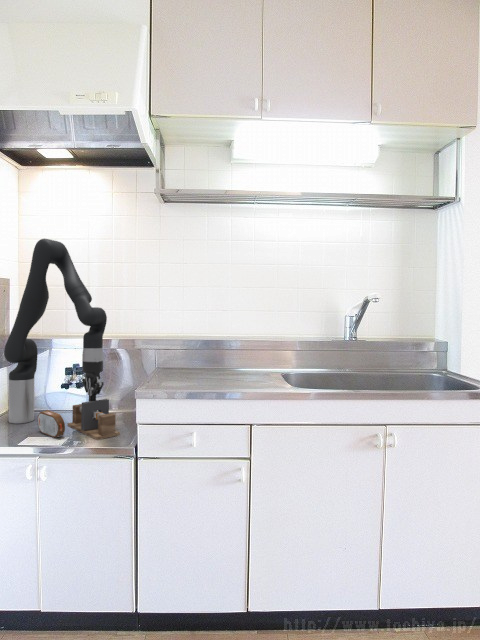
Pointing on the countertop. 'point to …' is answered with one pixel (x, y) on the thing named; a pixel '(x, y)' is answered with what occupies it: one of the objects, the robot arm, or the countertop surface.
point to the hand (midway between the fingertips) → (92, 404)
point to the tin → (51, 423)
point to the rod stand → (104, 424)
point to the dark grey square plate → (87, 413)
